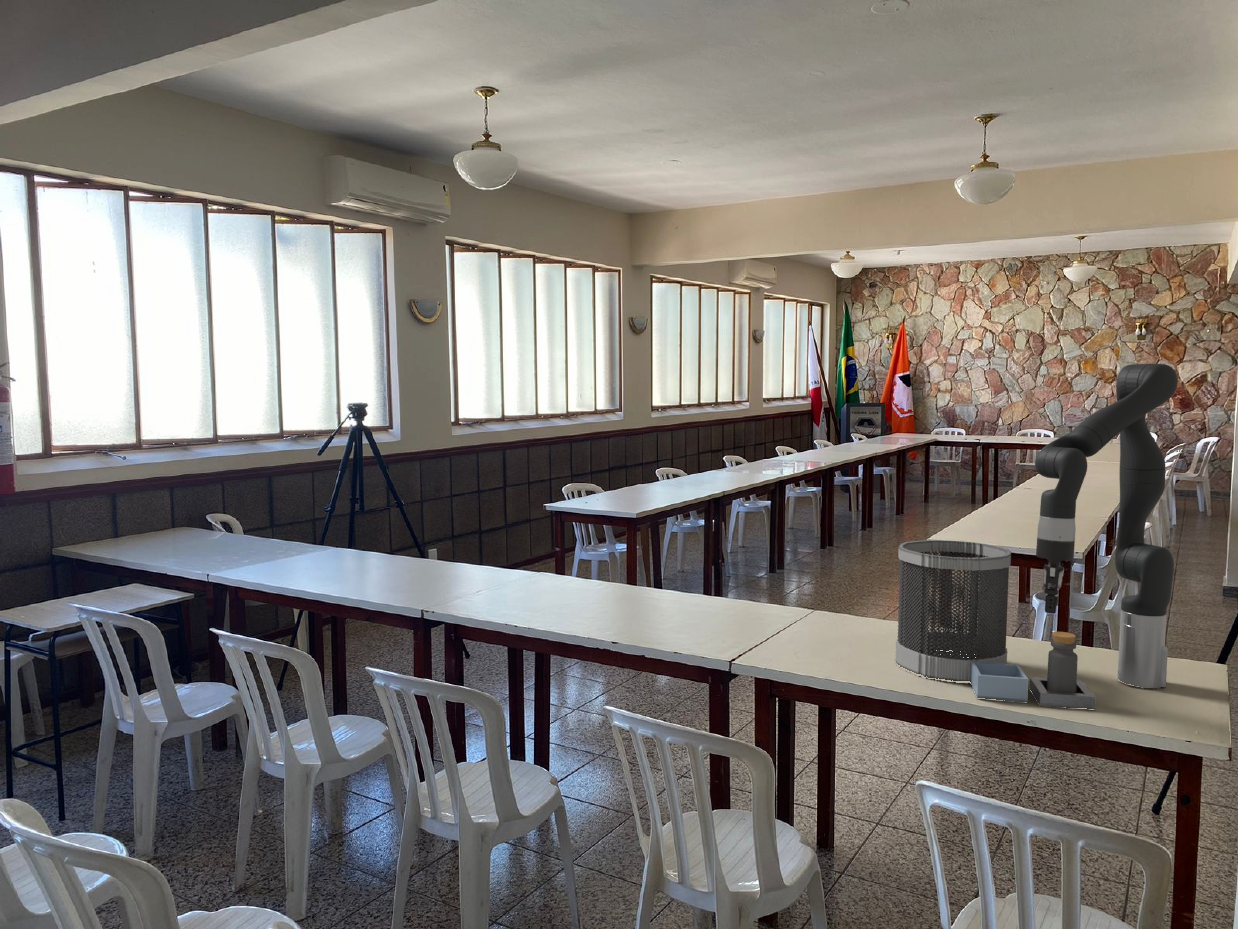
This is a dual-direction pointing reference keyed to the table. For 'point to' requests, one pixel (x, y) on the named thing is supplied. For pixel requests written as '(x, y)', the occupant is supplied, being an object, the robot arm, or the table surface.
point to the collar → (1062, 695)
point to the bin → (999, 681)
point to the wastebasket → (987, 602)
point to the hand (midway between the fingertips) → (1051, 609)
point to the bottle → (1062, 663)
